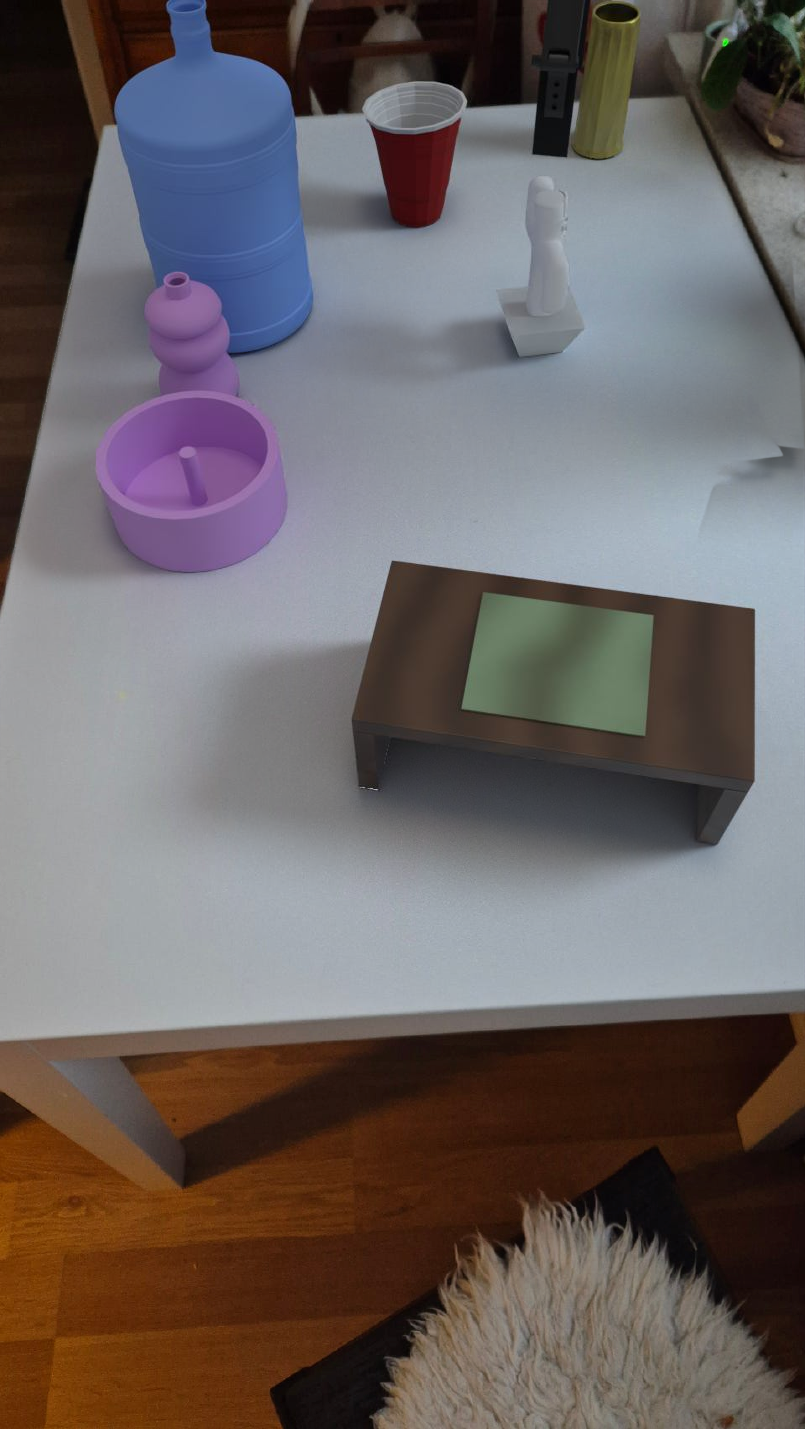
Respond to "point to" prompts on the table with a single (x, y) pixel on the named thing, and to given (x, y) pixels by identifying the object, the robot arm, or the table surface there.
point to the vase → (607, 80)
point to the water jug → (219, 180)
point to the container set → (192, 447)
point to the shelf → (563, 680)
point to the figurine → (543, 279)
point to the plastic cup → (415, 146)
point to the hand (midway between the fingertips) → (558, 109)
